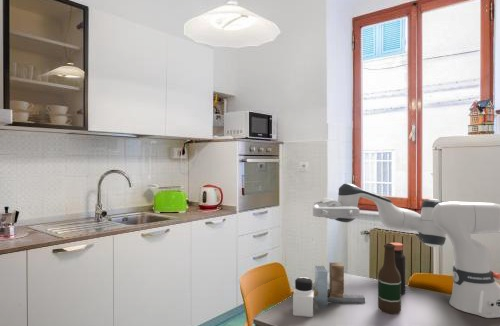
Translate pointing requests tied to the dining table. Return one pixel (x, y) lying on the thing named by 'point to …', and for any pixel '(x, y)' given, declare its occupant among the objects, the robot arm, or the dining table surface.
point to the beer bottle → (389, 283)
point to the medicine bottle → (303, 298)
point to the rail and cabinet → (321, 290)
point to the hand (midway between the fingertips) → (339, 214)
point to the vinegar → (400, 264)
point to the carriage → (336, 280)
